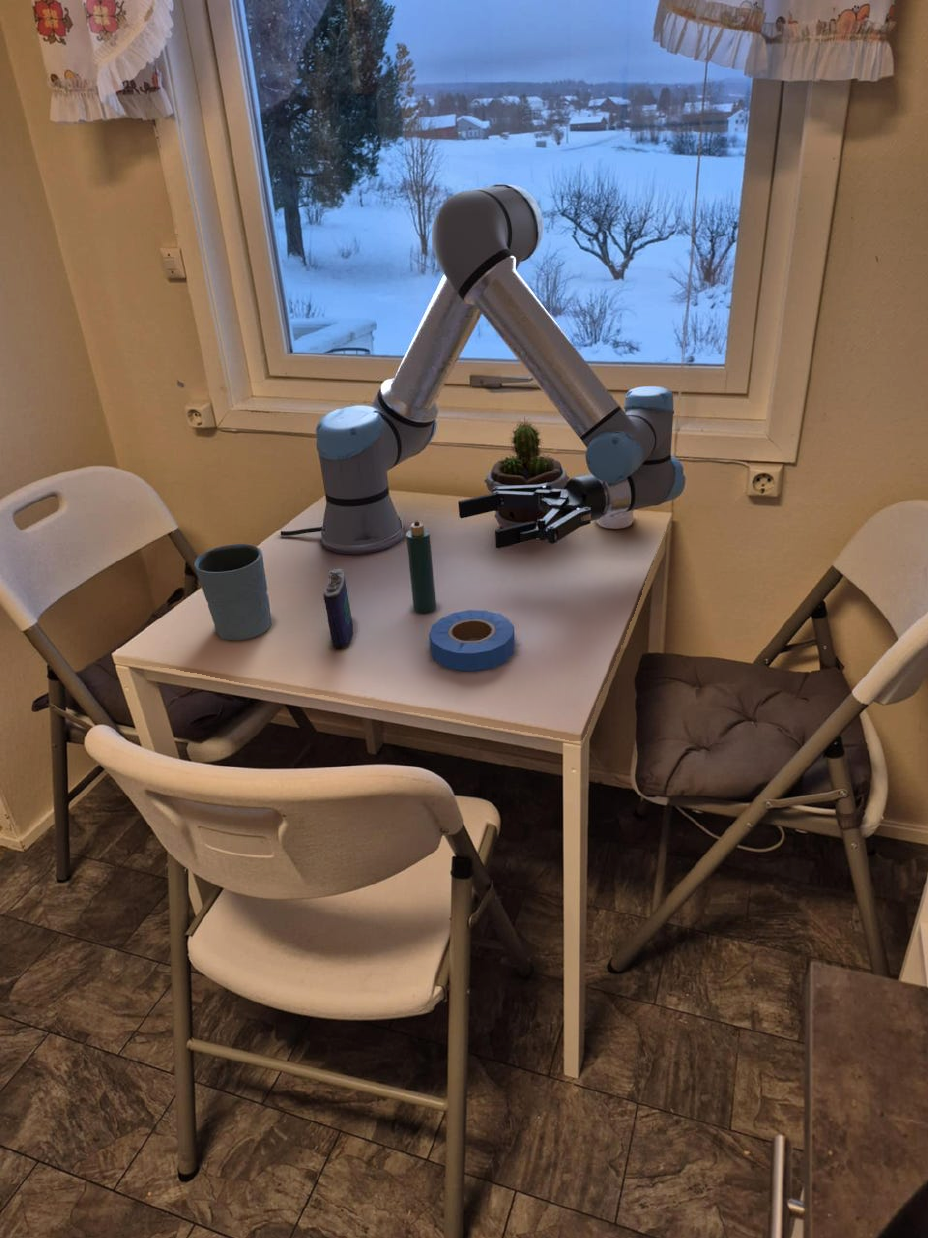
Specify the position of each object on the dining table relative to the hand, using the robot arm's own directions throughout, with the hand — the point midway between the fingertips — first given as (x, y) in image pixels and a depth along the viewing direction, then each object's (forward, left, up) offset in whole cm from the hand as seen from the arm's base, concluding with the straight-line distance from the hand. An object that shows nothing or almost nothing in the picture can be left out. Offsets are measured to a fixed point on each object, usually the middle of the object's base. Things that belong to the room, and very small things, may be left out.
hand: (476, 524), depth 132 cm
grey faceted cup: (+8, +35, -12) cm, 38 cm away
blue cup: (-29, -25, -12) cm, 40 cm away
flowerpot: (-6, +27, -12) cm, 30 cm away
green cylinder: (-6, -8, -12) cm, 16 cm away
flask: (-13, -20, -12) cm, 27 cm away
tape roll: (+7, -15, -12) cm, 21 cm away
